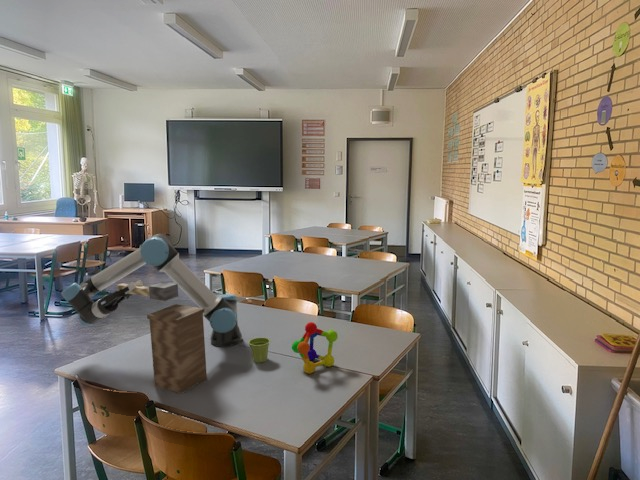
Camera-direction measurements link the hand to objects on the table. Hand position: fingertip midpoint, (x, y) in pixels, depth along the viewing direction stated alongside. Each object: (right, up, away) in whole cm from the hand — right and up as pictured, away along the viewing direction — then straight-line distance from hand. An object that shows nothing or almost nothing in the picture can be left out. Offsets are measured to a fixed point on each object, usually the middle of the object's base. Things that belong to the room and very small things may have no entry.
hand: (137, 283), depth 185 cm
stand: (+18, -39, -3) cm, 43 cm away
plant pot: (+47, -35, +17) cm, 61 cm away
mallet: (+3, -4, -1) cm, 6 cm away
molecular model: (+70, -36, +9) cm, 79 cm away
